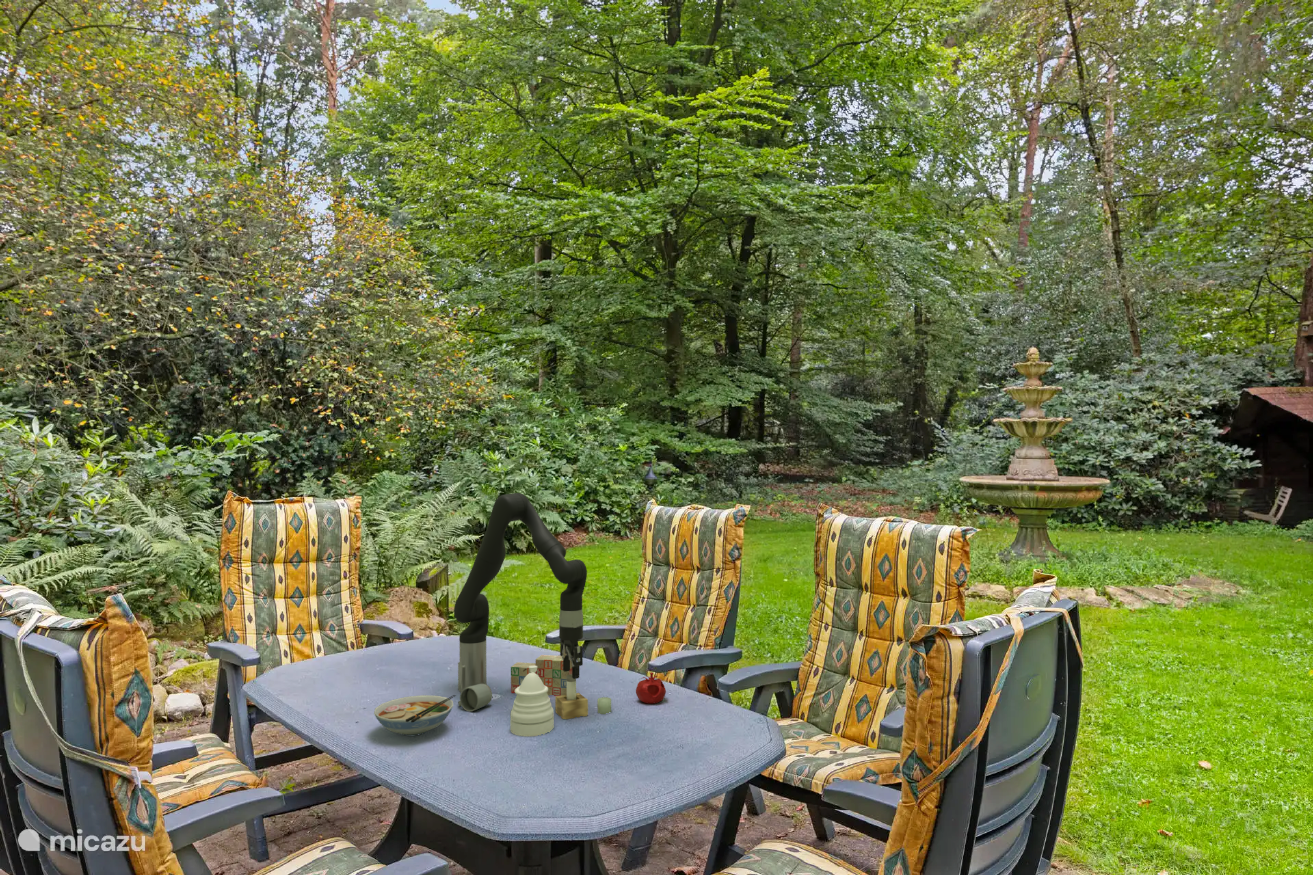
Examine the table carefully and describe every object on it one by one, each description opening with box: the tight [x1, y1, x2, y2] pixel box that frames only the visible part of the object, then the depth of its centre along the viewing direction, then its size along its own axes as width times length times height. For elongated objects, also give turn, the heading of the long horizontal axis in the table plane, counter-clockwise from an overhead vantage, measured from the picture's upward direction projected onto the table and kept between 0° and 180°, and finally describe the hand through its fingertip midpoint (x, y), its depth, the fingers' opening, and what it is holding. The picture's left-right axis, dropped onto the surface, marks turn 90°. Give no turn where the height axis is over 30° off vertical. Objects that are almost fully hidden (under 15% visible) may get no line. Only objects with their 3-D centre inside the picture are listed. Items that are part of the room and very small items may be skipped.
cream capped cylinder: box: [567, 674, 577, 701], centre depth 245 cm, size 3×3×12 cm
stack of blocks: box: [510, 654, 572, 697], centre depth 268 cm, size 21×6×12 cm, turn 78°
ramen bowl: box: [373, 694, 457, 736], centre depth 231 cm, size 25×23×8 cm
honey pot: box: [509, 666, 555, 737], centre depth 232 cm, size 13×13×18 cm
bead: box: [596, 696, 612, 715], centre depth 247 cm, size 4×4×4 cm
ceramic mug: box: [457, 684, 493, 713], centre depth 253 cm, size 11×8×8 cm
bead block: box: [554, 692, 589, 720], centre depth 245 cm, size 8×8×5 cm
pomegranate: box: [635, 672, 667, 705], centre depth 257 cm, size 10×10×9 cm
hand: (571, 674), depth 245 cm, fingers open, 8 cm apart
